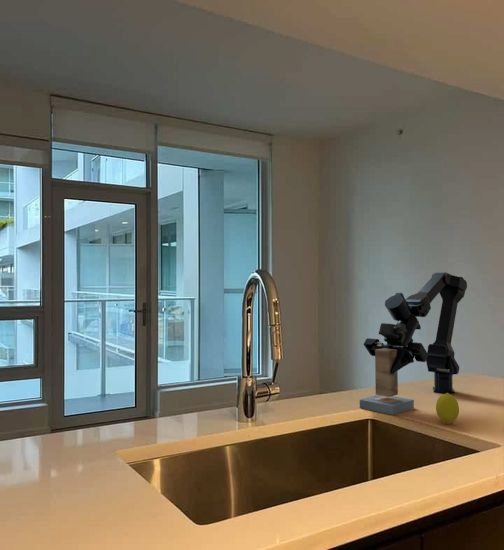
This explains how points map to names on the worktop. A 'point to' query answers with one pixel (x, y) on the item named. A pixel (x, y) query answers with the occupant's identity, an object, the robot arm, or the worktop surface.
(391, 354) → the pillar
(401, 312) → the robot arm
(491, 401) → the worktop surface
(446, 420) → the lemon
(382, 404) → the plate
